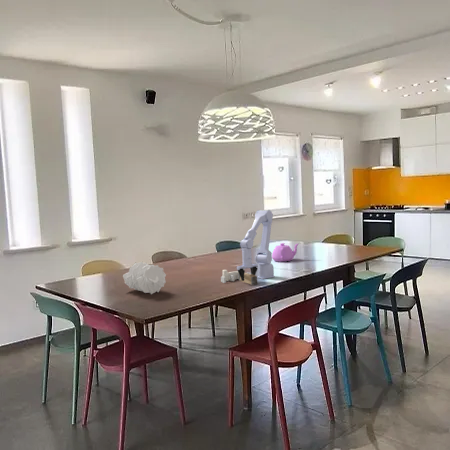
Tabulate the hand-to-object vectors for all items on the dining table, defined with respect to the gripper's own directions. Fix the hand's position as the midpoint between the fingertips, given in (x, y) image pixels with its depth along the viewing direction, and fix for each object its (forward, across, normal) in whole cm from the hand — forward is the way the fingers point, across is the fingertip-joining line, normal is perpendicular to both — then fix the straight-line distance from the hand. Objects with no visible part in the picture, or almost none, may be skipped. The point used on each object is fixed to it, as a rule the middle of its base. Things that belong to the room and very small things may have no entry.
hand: (248, 279), depth 294 cm
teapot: (+2, -66, -47) cm, 81 cm away
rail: (+2, 0, 0) cm, 2 cm away
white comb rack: (+2, +2, -12) cm, 12 cm away
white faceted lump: (+2, +60, -21) cm, 64 cm away
